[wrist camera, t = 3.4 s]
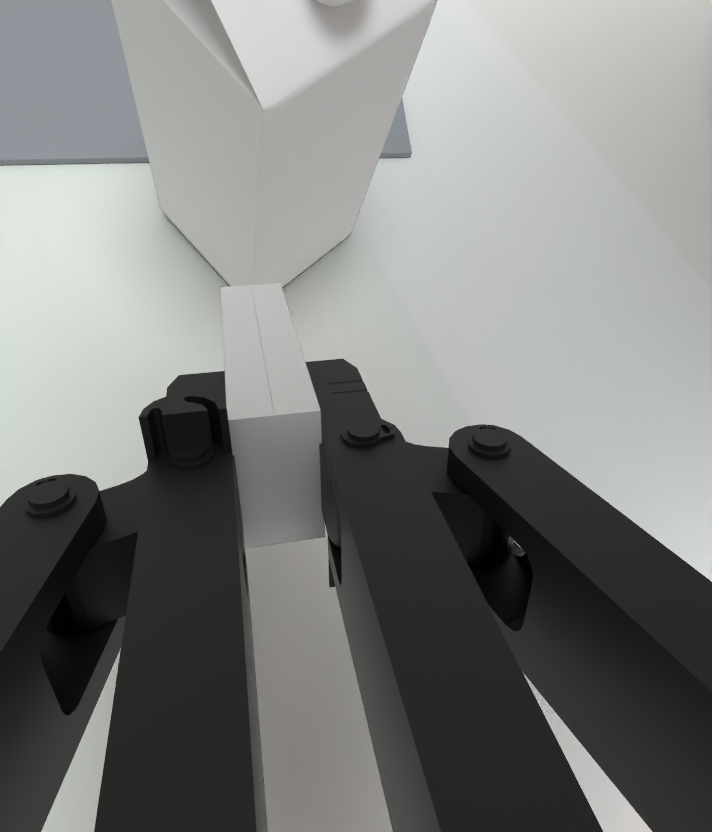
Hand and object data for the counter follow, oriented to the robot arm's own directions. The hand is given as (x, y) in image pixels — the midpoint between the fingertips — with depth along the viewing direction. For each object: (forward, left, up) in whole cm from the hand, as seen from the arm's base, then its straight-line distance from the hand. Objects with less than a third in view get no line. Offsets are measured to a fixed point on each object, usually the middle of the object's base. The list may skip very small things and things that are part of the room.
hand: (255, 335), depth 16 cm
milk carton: (-1, -12, -14) cm, 18 cm away
